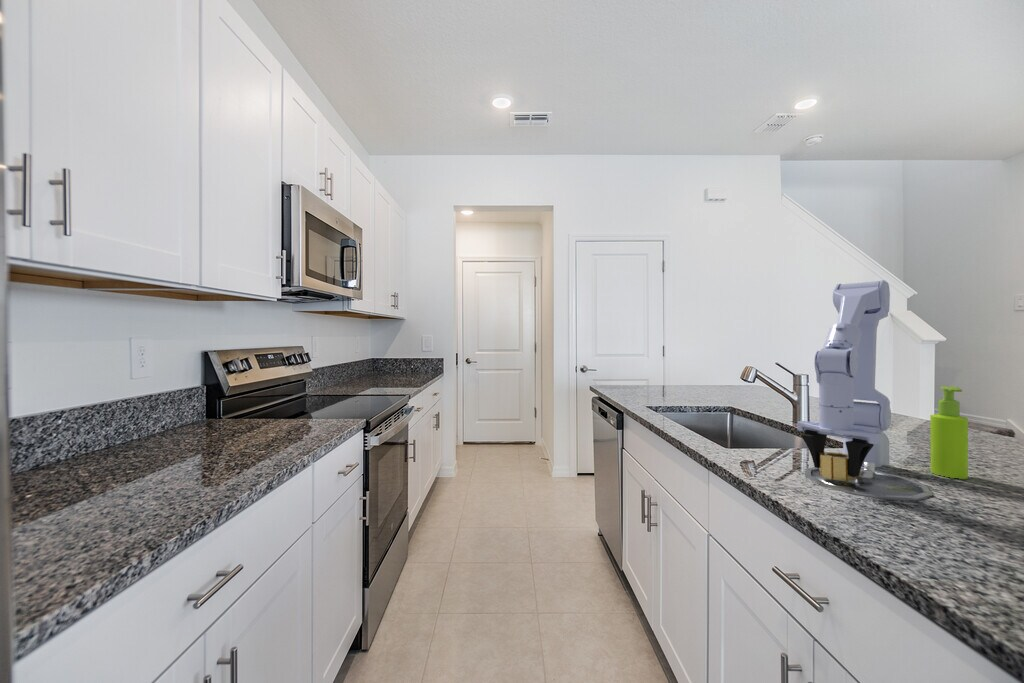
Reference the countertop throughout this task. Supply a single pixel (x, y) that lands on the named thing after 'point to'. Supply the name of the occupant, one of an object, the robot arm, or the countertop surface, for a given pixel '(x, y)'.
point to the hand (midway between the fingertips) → (836, 471)
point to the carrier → (874, 484)
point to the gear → (834, 466)
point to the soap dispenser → (949, 437)
